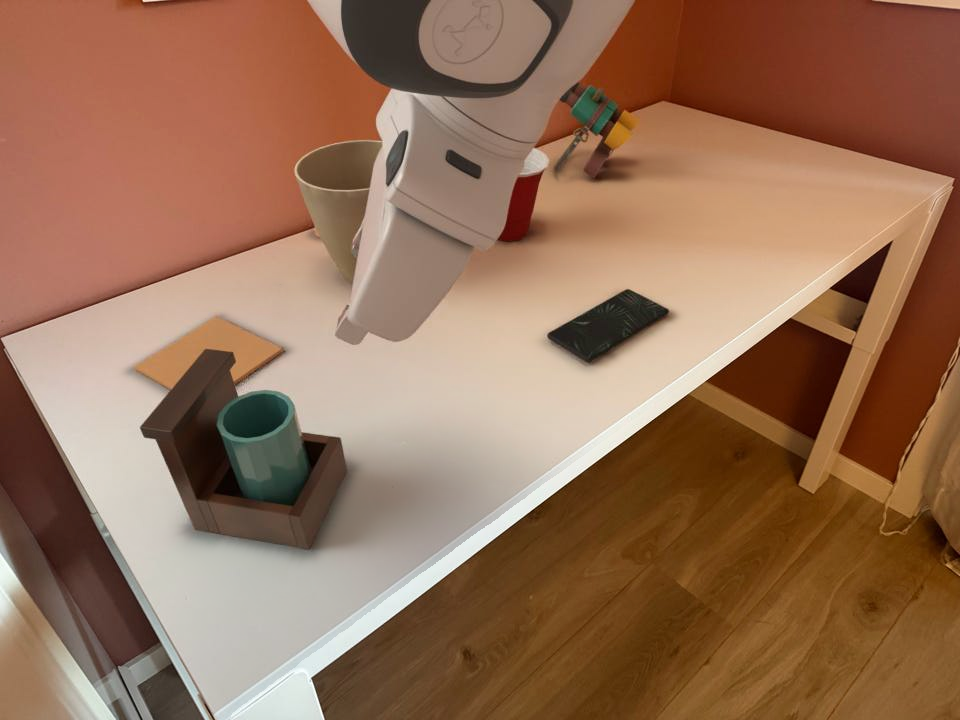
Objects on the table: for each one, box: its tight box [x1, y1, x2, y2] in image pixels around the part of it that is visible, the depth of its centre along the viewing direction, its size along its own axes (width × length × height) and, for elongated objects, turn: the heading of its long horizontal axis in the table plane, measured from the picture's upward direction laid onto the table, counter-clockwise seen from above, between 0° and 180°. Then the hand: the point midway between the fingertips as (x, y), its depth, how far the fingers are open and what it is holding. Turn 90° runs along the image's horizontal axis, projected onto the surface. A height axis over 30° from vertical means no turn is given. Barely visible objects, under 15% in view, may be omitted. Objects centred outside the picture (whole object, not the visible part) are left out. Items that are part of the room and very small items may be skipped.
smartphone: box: [547, 288, 670, 364], centre depth 87 cm, size 7×1×15 cm
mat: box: [133, 316, 284, 391], centre depth 84 cm, size 12×12×1 cm
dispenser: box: [139, 349, 348, 550], centre depth 64 cm, size 12×10×13 cm
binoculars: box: [552, 81, 641, 179], centre depth 120 cm, size 14×14×15 cm
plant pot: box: [293, 139, 382, 285], centre depth 94 cm, size 15×15×16 cm
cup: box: [217, 389, 312, 507], centre depth 64 cm, size 6×6×11 cm
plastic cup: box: [497, 147, 550, 242], centre depth 103 cm, size 11×11×12 cm
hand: (353, 291), depth 51 cm, fingers open, 8 cm apart
